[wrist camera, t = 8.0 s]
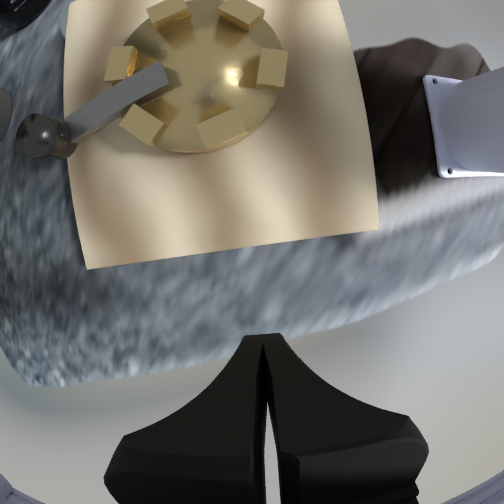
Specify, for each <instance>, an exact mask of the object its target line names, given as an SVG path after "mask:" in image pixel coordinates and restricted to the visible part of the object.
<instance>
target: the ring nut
mask: <svg viewBox="0 0 504 504" xmlns="http://www.w3.org/2000/svg"><path fill="white" fill-rule="evenodd" d="M146 11H147V13H148V15H149V18H148V19H147V20H146V21H145V22H143V23H142V24H141V25H140V26H139V27H138V28H137V29H136V30H135V31H134V32H133V33H132V34H131V35H130V37H129V38H128V39H127V40H126V42H125V44H124V45H123V46H122V47H113V48H111V52H110V56H109V60H108V64H107V68H106V72H105V76H104V82H106V83H108V84H109V85H112V87H111V88H109V89H108V90H106V91H104V92H103V93H101V94H100V95H98V96H97V97H95V98H93V99H92V100H90V101H89V102H87V103H86V104H84V105H83V106H82V107H80V108H79V109H77V110H76V111H74V112H73V113H72V114H70V115H69V116H67V117H66V118H65V119H63V120H60V119H56V118H52V117H48V116H44V115H40V114H31V115H29V116H27V117H26V118H25V119H24V120H23V121H22V122H21V124H20V126H19V128H18V130H17V134H16V149H17V152H18V153H19V155H20V156H21V157H23V158H37V159H66V158H68V157H70V156H71V155H72V154H73V153H74V152H75V150H76V148H77V146H78V144H79V143H80V142H82V141H83V140H85V139H86V138H88V137H89V136H91V135H92V134H94V133H95V132H97V131H98V130H100V129H101V128H103V127H105V126H106V125H108V124H109V123H111V122H113V121H114V120H116V119H118V118H119V117H121V118H122V121H121V122H120V124H119V125H120V126H121V127H123V128H124V129H126V130H127V131H128V132H130V133H131V134H133V135H134V136H136V137H137V138H138V139H140V140H141V141H143V142H144V143H145V144H147V145H149V146H152V147H154V145H156V146H158V147H161V148H164V149H167V150H171V151H174V152H179V153H186V154H202V153H210V152H214V151H219V150H222V149H225V148H228V147H230V146H232V145H234V144H236V143H239V142H240V141H242V140H244V139H245V138H247V137H248V136H250V135H251V134H252V133H253V132H254V131H256V130H257V129H258V128H259V127H260V126H261V125H262V124H263V123H264V121H265V120H266V119H267V117H268V116H269V115H270V113H271V112H272V110H273V108H274V106H275V104H276V102H277V99H278V96H279V93H280V92H282V91H283V88H284V82H285V74H286V66H287V58H288V51H283V49H282V46H281V43H280V41H279V39H278V37H277V35H276V33H275V32H274V30H273V29H272V27H271V26H270V25H269V24H268V23H267V22H266V21H265V20H264V19H263V18H264V12H265V10H264V9H262V8H260V7H258V6H257V5H255V4H253V3H251V2H249V1H247V0H226V1H224V0H192V1H186V2H185V1H184V0H164V1H162V2H160V3H158V4H155V5H153V6H151V7H149V8H147V9H146Z"/></svg>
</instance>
